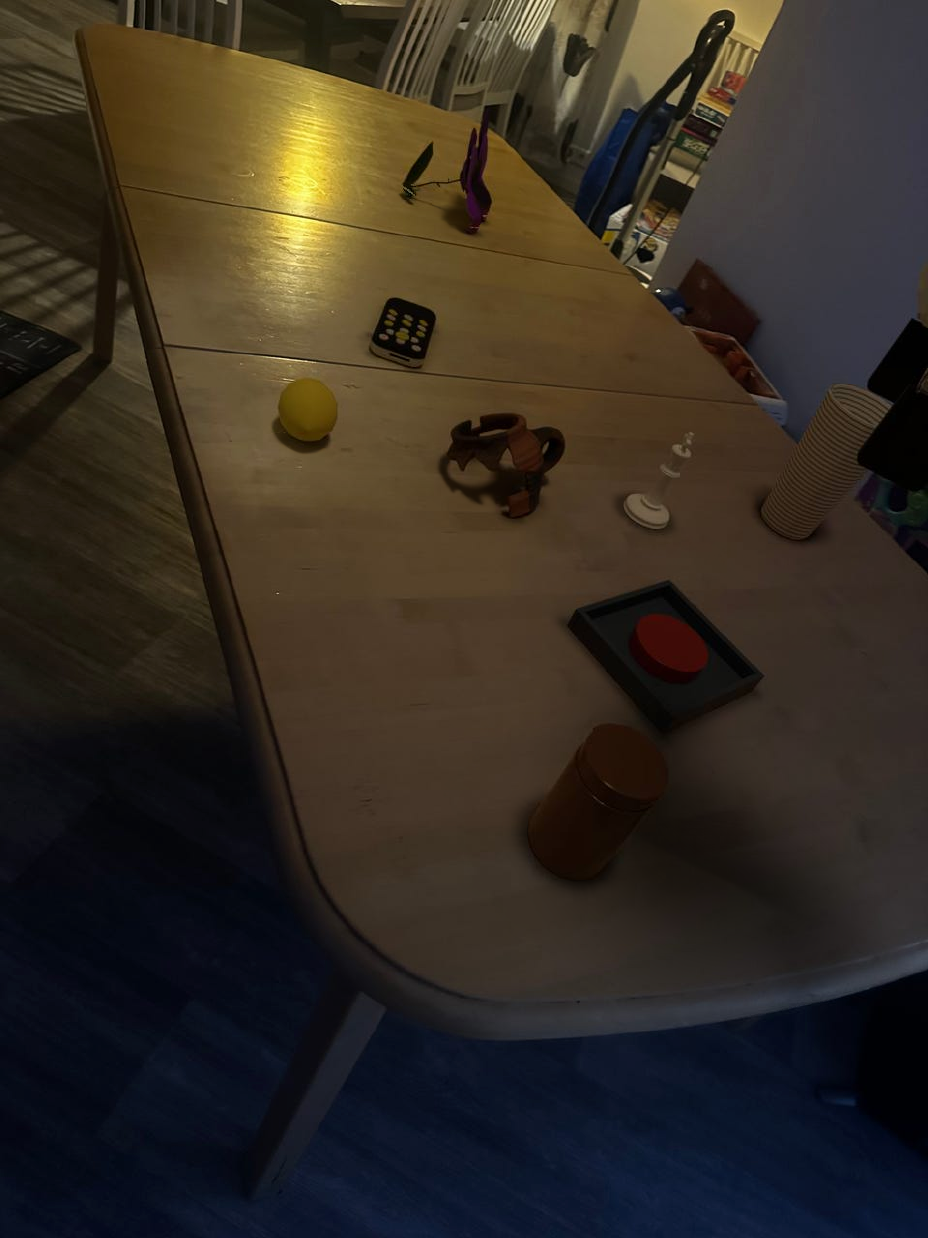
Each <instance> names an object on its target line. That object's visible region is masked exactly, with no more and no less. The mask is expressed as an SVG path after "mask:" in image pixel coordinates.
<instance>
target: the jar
mask: <svg viewBox="0 0 928 1238" xmlns="http://www.w3.org/2000/svg"><path fill="white" fill-rule="evenodd" d="M669 782H670V769H669V765H668V762H667V759H666V756H665V755H664V753H663V752H662V750H661V749H660V748H659V746H658V745H657V744H656V743H655V742H654V741H653V740H652V739H651V738H650V737H648V736H647V735H646V734H645V733H643V732H641V731H639V730H638V729H636V728H634V727H631V726H628V725H626V724H620V723H612V722H608V723H600V724H598V725H595V726H593V727H592V730H591V731H590V733H589V734H588V735H587V737H586V739H585V740H583V742H581V743H580V745H579V746H578V747H577V749H576V750H575V752H574V753H573V755H572V756H571V758H570V759H569V760H568V762H567V764H566V765H565V767H564V768H563V770H562V771H561V773H560V774H559V776H558V777H557V779H556V780H555V782H554V783H553V785H552V786H551V788H550V789H549V791H548V792H547V794H546V795H545V797H544V798H543V800H542V801H541V802H540V804H539V805H538V807H537V808H536V811H534V813H533V815H532V816H531V818H530V820H529V823H528V827H527V837H528V842H529V843H528V844H529V846H530V848H531V850H532V852H533V854H534V855H535V857H536V859H537V860H538V861H539V863H540V864H541V865H543V866H544V867H545V869H547V870H548V871H550V872H551V873H553V874H555V875H557V876H558V877H561V878H563V879H567V880H570V881H584V880H588V879H591V878H593V877H595V876H596V875H597V874H599V873H600V872H601V871H602V870H603V868H604V867H605V866H606V864H607V863H608V862H609V861H610V860H611V859H612V857H613V856H614V855H615V854H616V853H617V852H618V850H619V849H620V848H621V846H622V845H623V844H624V843H626V841H627V840H628V838H629V837H630V836H631V834H632V833H633V832H634V831H635V830H636V828H637V827H638V826H639V825H640V823H642V822H643V820H644V818H645V817H646V816H647V815H648V814H649V813H650V812H651V810H652V809H653V808H654V806H656V804H657V803H658V802H659V801H660V800H661V798H662V797H663V796H664V795H665V793H666V790H667V787H668V784H669Z"/></svg>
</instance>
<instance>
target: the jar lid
mask: <svg viewBox="0 0 928 1238" xmlns="http://www.w3.org/2000/svg"><path fill="white" fill-rule="evenodd" d="M629 648H630V651H631V654H632V655H633V657H634V659H635V660H636V661H637V663H638V664H639V665H640V666H641V667H642V668H643V669H644V670H645V671H647V672H648V673H649V674H651V675H653V676H654V677H656V678H658V679H660V680H662V681H665V682H668V683H673V684H686V683H689V682H691V681H693V680H694V679H695V678H696V677H697V676H698V675H699V673H700V672H701V671H702V669H703V668H704V667H705V665H706V664H707V661H708V651H707V648H706V646H705V644H704V642H703V640H702V639H701V638H700V636H699V635H698V634H697V633H696V632H695V631H694V630H693V629H692V628H690V627H689V626H688V625H686V624H685V623H683V622H681V621H680V620H678V619H675V618H673V617H670V616H667V615H662V614H650V615H647V616H644V617H643V618H641V619H640V620H639V622H638V623H637V625H636V626H635V628H634V630H633V631H632V633H631V634H630V637H629Z"/></svg>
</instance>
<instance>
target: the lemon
mask: <svg viewBox="0 0 928 1238" xmlns="http://www.w3.org/2000/svg"><path fill="white" fill-rule="evenodd" d="M338 404H339V403H338V402H337V400H336V396H335V395H334V392H333V391H332V390H331V389H330V388H329V387H328V386H327V385H326V384H325V383H324V382H323V381H322V380H319V379H315V378H311V377H303V378H300V379H297V380H294V381H292V382H290V383H289V382H288V384H287V386H285V388H284V389H283V390H282V391H281V392H280V396H279V399H278V405H277V411H278V416H279V421H280V424H281V425H282V427H283V428H284V430H286V432H287V433H288V434H289V435H290V436H292V437H294V438H295V439H297V440H300V441H303V442H316V441H320V440H322V439H323V437H325V436H326V435H328V434H330V433H331V432H333V430H334V428H335V425H336V423H337V421H338V417H339V416H338V411H339V410H338V409H339V408H338Z"/></svg>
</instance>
